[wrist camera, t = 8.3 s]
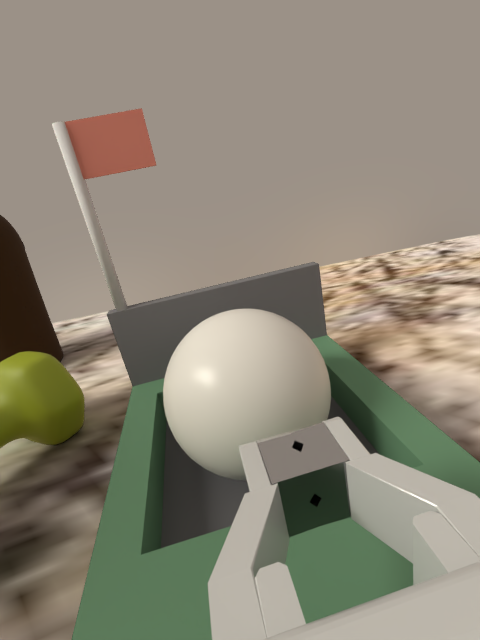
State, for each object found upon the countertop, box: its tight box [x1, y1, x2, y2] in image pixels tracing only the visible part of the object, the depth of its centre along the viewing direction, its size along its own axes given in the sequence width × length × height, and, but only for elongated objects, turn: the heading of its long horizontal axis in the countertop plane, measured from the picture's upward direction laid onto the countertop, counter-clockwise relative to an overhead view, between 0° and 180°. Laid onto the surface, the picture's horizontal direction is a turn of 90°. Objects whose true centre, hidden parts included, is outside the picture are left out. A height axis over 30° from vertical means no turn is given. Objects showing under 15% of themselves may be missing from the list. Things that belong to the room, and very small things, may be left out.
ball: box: [163, 309, 331, 480], centre depth 18 cm, size 9×9×9 cm
